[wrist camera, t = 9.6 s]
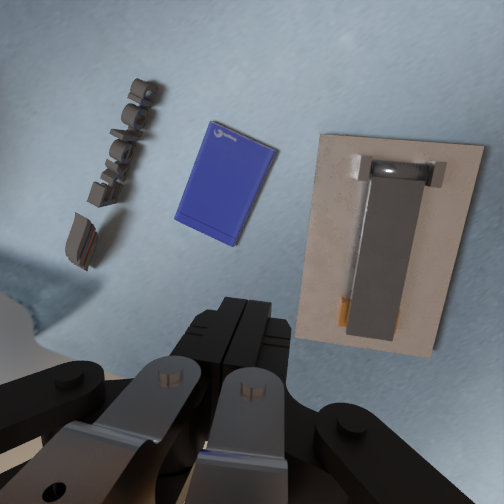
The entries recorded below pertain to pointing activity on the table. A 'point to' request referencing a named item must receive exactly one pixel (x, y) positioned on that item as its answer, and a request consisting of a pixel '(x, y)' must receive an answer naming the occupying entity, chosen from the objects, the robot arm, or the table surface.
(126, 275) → the table surface
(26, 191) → the table surface
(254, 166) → the hard drive
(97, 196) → the extruded letter logo
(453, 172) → the mounting plate
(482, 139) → the table surface
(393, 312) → the flat pivoting pedal
